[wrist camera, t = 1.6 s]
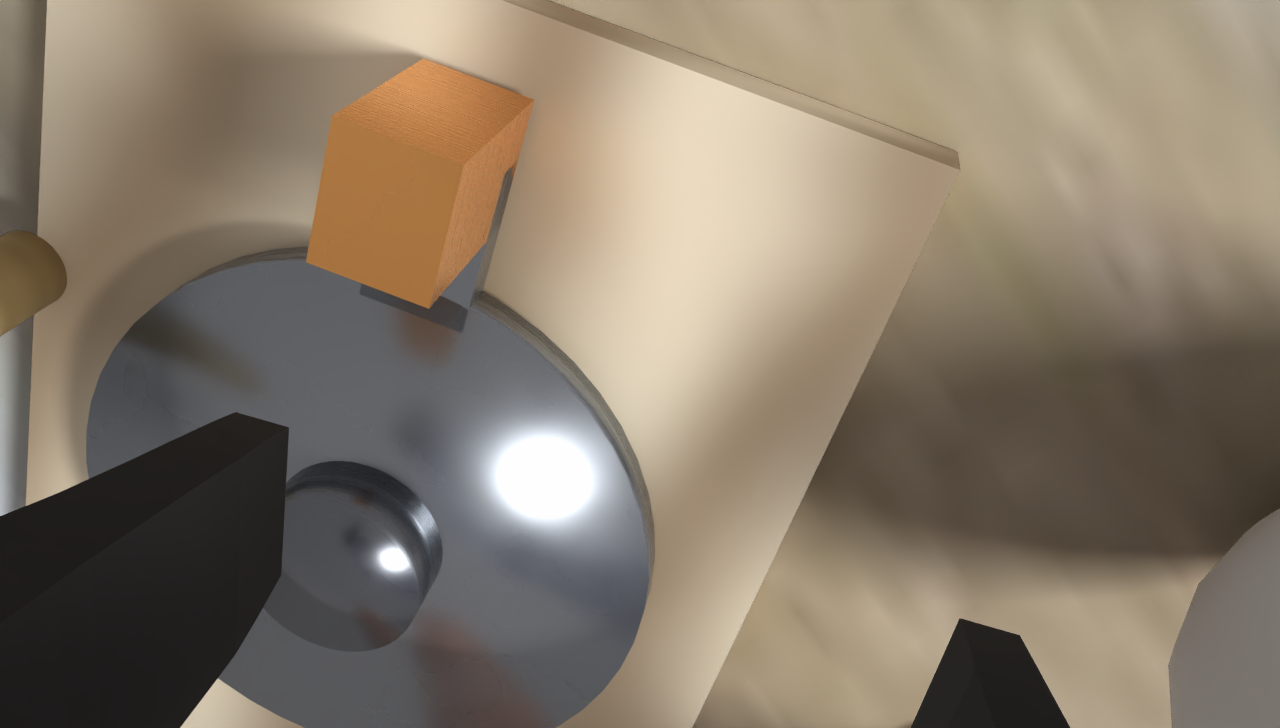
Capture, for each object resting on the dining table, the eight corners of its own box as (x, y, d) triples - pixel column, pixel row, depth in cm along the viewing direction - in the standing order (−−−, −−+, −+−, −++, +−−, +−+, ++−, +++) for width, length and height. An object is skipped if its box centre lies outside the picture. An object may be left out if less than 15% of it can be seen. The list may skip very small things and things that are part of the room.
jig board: (958, 152, 20) (973, 257, 15) (598, 907, 30) (551, 1088, 26) (42, -187, 20) (-182, -174, 16) (10, 676, 31) (-129, 819, 27)
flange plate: (814, 203, 19) (797, 290, 16) (565, 798, 27) (522, 935, 24) (148, -45, 20) (5, -7, 16) (92, 614, 27) (-13, 725, 24)
